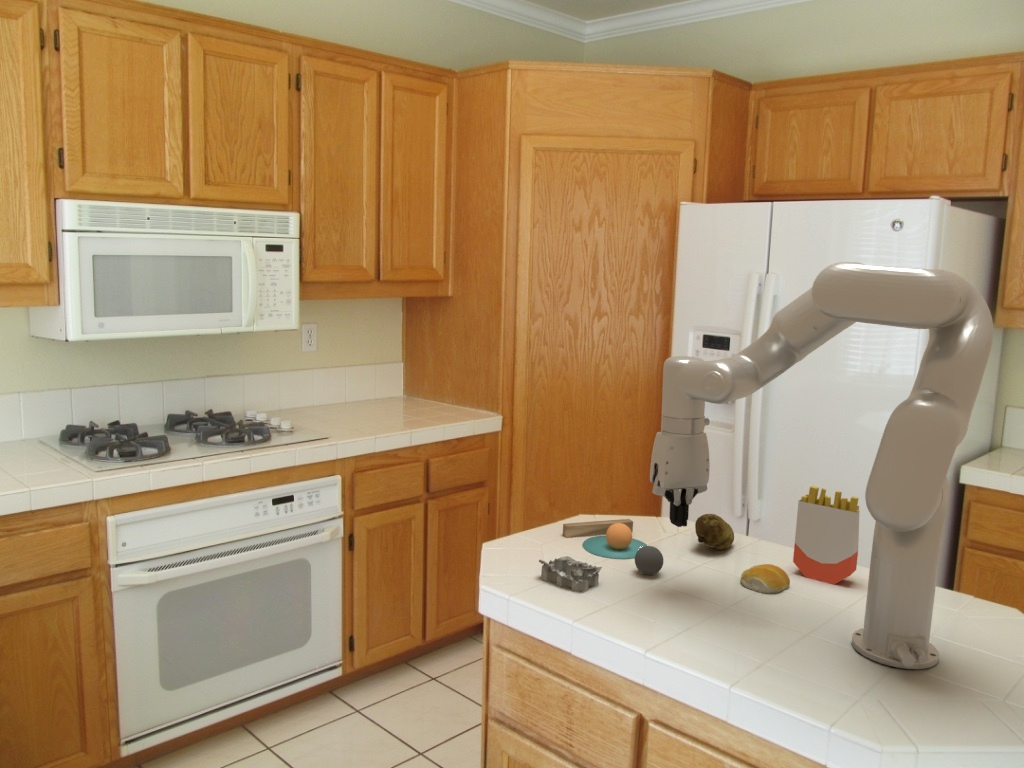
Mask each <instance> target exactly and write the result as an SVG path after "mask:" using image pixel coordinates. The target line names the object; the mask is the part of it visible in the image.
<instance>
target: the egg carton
mask: <svg viewBox="0 0 1024 768" xmlns="http://www.w3.org/2000/svg"><path fill="white" fill-rule="evenodd" d="M538 563H540V564H541V565H542V566H541V574H540V575H541V576H540V577H541V578H542V581H543V582H546V583H548V582H553V583H554V582H555V583H556V586H559V587H569V588H571V591H573V592H575V593H576V592H584V593H586V592H588V591H589V587H593V588H596V587H599V576H600V572H601V570H602V568H603V566H598V567H597V566H596V565H594V566H593V565H592V564H589V563H588V562H582V561H579V560H576V559H574V558H573V557H571V556H568V555H567V556H561V557H559V558H554V560H551V559H550V560H549V562H546V561H545V560H542V559H539V560H538ZM560 572H565V574H566V575H561V574H560Z"/></svg>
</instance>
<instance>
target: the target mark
mask: <svg viewBox="0 0 1024 768" xmlns="http://www.w3.org/2000/svg"><path fill="white" fill-rule="evenodd" d="M647 545H648V544H646V543H645V542H643V541H641V540H639V539H636V538H633V537H632V541H631V543H630V545H629V546H628V547H627V548H625V549H622V550H617V549H614V548H612V547H611V546H610V545H609V544H608V543H607V540H606V535H594V536H593V537H592V536H591V537H589V538H587V539H585V540H584V541H582V547H583V549H584V550H585V551H587V552H588V553H590V554H591V555H595V556H598V557H602V558H606V557H607V559H613V558H614V559H613V560H617V559H618V560H631V559H630V558H634V559H635V555H636V553H637V551H638V549H640V548H639V547H640V546H641V547H642V546H643V547H644V546H647Z"/></svg>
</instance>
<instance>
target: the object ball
mask: <svg viewBox="0 0 1024 768" xmlns="http://www.w3.org/2000/svg"><path fill="white" fill-rule="evenodd" d="M632 538H633V532H631V530H630V528H629V527H628V526H627V525H625V524H622V523H615V524H613V525H611V526H610V527H609V528H608V530H607V532H606V540H607V543H608V544H609V545H610V546H611V547H612V548H614V549H617V550H622V549H625V548H627V547H628V546H629V545H630V543H631V541H632Z"/></svg>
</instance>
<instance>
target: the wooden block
mask: <svg viewBox="0 0 1024 768" xmlns="http://www.w3.org/2000/svg"><path fill="white" fill-rule="evenodd" d="M615 523H622V524H625V525H627V526H628V527H629V528H630V530H631V532H632V533H633V531H634V528H633V527H634V521H633V520H632V519H630V518H624V519H621V518H620V519H610V520H598V521H597V520H596V521H582V522H570V523H566V522H565V523H563V524H562V535H563V537H565V538H566V539H567V538H568V539H569V538H579V537H581V538H582V537H590V536H591V537H592V536H593V537H595V536H604V535H606V532H607V530H608V528H609V527H610V526H611V525H613V524H615Z"/></svg>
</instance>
